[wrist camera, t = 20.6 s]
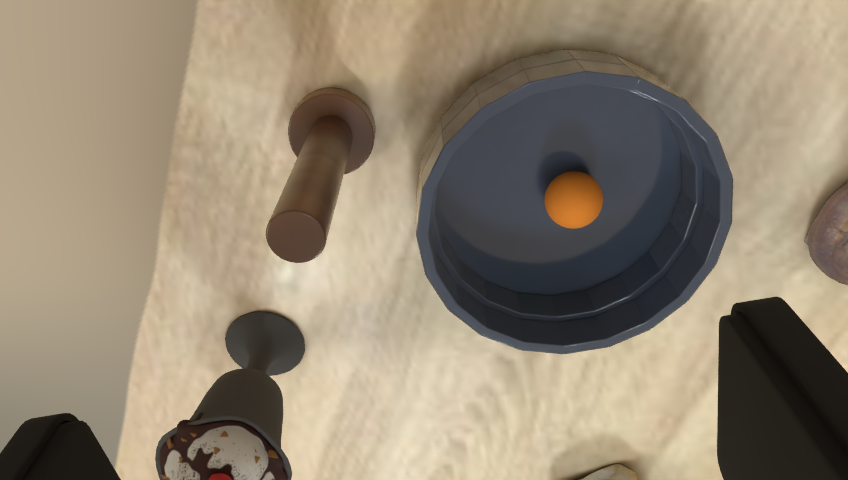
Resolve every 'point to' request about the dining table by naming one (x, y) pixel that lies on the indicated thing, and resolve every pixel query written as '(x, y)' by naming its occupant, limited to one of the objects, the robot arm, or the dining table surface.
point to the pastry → (613, 474)
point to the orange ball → (573, 199)
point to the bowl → (548, 241)
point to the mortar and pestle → (831, 237)
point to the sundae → (238, 410)
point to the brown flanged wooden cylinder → (318, 170)
